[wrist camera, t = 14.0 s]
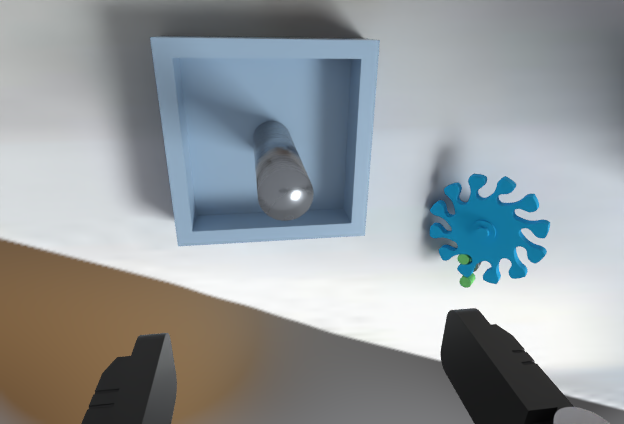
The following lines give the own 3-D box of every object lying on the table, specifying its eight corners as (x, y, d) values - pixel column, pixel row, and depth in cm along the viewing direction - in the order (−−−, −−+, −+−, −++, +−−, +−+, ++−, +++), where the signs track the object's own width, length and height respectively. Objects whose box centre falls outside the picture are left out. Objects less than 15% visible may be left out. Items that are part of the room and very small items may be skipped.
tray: (364, 38, 32) (379, 40, 28) (353, 215, 38) (364, 235, 34) (161, 35, 30) (150, 37, 26) (184, 223, 36) (178, 246, 32)
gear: (448, 158, 35) (572, 210, 31) (470, 145, 40) (581, 189, 35) (408, 260, 41) (508, 316, 36) (431, 238, 45) (523, 286, 41)
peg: (290, 120, 32) (314, 167, 22) (290, 157, 34) (313, 219, 23) (252, 121, 32) (256, 169, 21) (253, 158, 33) (258, 222, 22)
